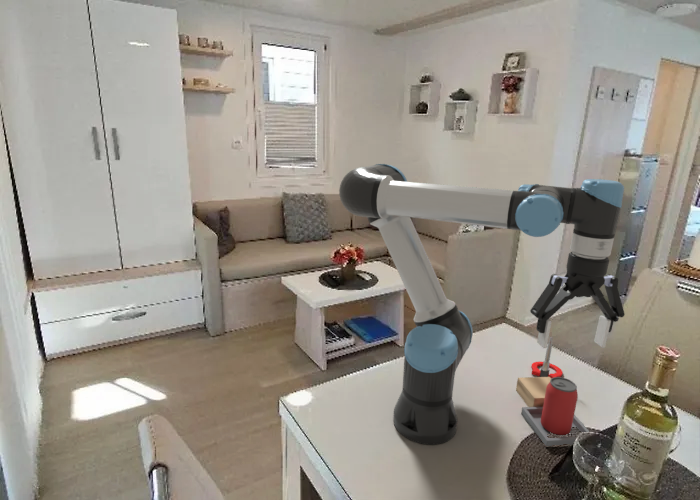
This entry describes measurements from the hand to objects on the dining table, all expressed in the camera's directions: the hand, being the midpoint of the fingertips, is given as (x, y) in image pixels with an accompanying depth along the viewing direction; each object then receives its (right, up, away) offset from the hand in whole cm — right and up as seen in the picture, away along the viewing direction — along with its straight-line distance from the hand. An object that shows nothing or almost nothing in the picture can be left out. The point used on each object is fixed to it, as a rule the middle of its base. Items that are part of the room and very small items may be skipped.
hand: (570, 344), depth 93 cm
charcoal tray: (0, -22, +6) cm, 22 cm away
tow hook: (+9, -15, +30) cm, 35 cm away
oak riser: (+1, -18, +17) cm, 25 cm away
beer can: (0, -21, +6) cm, 22 cm away
